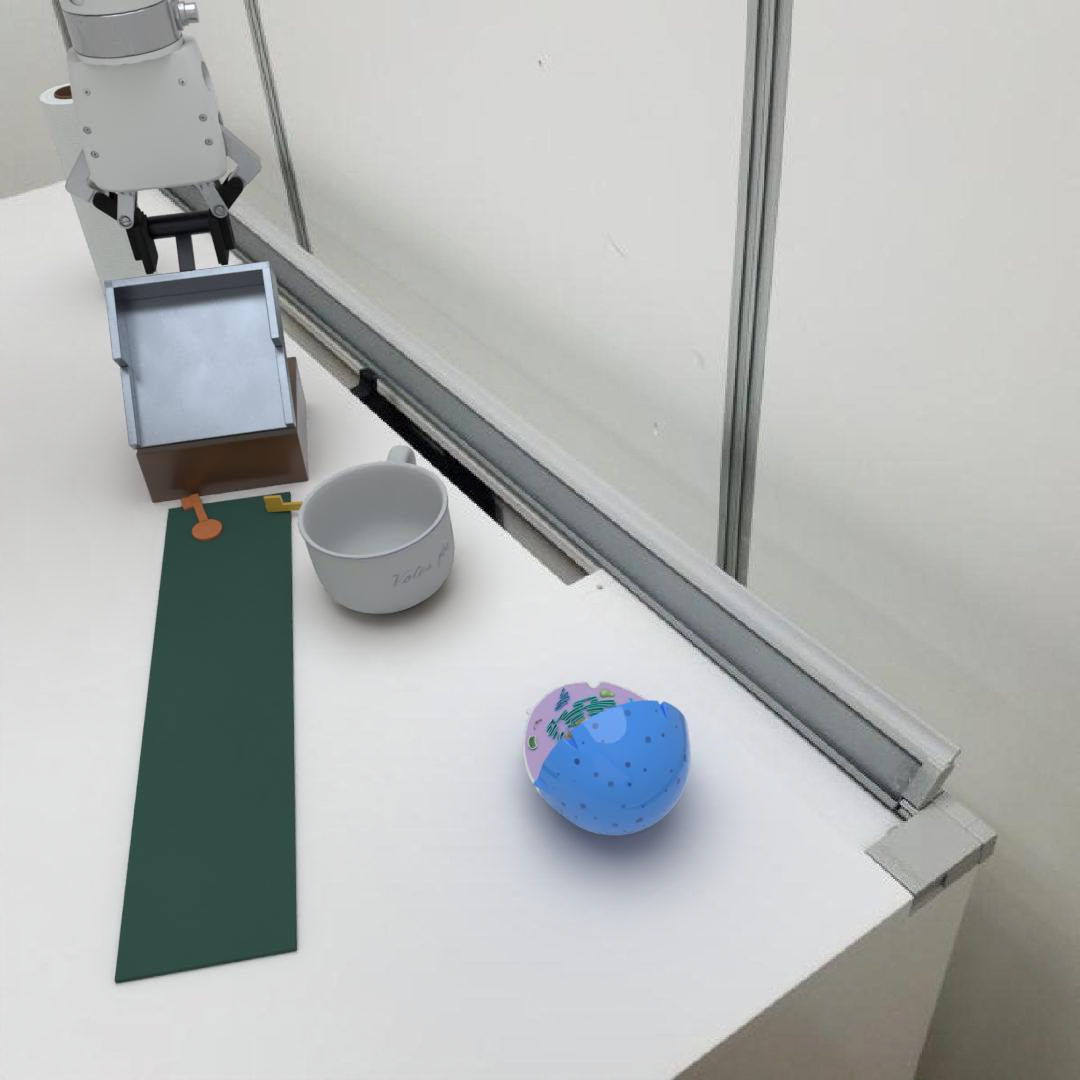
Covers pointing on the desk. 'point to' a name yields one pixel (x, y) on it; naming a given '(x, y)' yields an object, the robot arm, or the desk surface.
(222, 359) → the grey letter tray
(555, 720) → the cell model
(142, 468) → the stand
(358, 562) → the teacup
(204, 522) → the copper key
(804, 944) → the desk surface
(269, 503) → the brass key
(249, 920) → the mat
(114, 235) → the paper towel roll
